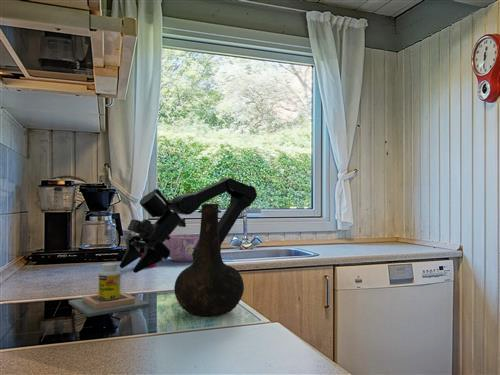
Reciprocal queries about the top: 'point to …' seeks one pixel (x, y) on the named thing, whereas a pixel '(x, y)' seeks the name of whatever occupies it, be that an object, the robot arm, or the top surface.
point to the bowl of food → (182, 246)
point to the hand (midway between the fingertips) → (127, 269)
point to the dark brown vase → (209, 274)
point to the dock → (107, 304)
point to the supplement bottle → (109, 283)
